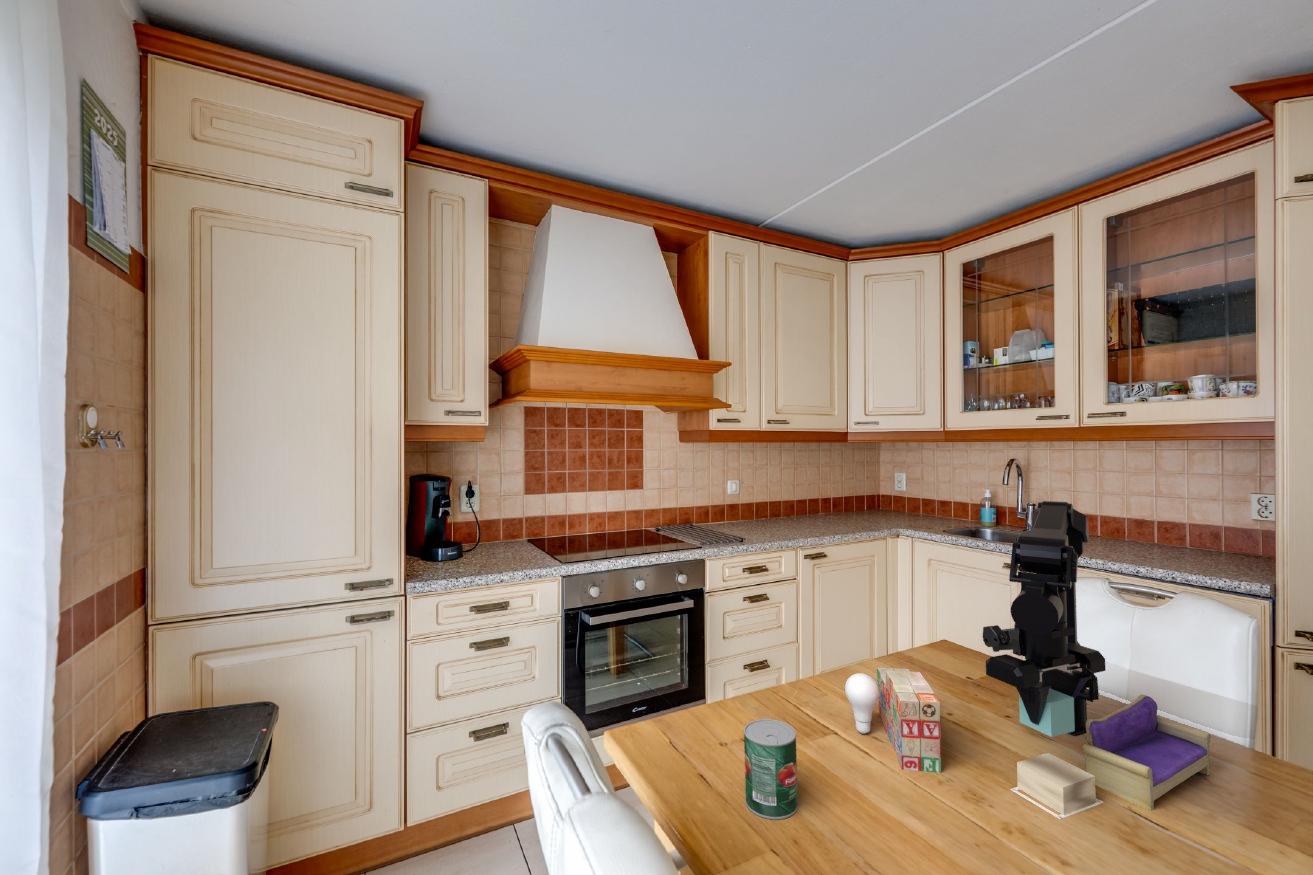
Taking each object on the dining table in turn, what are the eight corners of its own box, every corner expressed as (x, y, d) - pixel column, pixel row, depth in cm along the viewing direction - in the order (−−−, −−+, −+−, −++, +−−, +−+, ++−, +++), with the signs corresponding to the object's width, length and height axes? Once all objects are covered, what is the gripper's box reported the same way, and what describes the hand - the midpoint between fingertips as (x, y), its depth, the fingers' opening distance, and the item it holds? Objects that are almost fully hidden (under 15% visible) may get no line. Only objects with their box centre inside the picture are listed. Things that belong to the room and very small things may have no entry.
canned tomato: (742, 787, 91) (740, 718, 91) (792, 787, 91) (790, 718, 91) (749, 820, 83) (747, 744, 83) (803, 820, 83) (801, 744, 83)
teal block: (1042, 716, 91) (1041, 684, 91) (1074, 730, 86) (1073, 697, 86) (1019, 722, 89) (1018, 689, 89) (1051, 737, 84) (1050, 703, 84)
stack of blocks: (878, 712, 115) (876, 651, 115) (911, 715, 114) (909, 653, 114) (901, 773, 94) (899, 698, 94) (942, 777, 93) (940, 701, 93)
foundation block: (1048, 777, 91) (1047, 752, 91) (1095, 803, 84) (1095, 775, 84) (1017, 788, 88) (1016, 762, 88) (1063, 815, 82) (1063, 787, 82)
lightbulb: (845, 738, 105) (843, 678, 105) (847, 722, 111) (845, 666, 111) (880, 743, 103) (878, 683, 103) (880, 727, 109) (879, 670, 109)
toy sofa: (1150, 817, 82) (1147, 746, 82) (1082, 785, 90) (1080, 720, 90) (1214, 775, 92) (1212, 711, 92) (1148, 750, 99) (1146, 691, 99)
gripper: (1036, 599, 99) (1039, 689, 98) (954, 610, 92) (957, 708, 92) (1106, 616, 88) (1109, 718, 88) (1019, 631, 82) (1022, 740, 81)
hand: (1047, 719), depth 88 cm, fingers closed on teal block, 5 cm apart
